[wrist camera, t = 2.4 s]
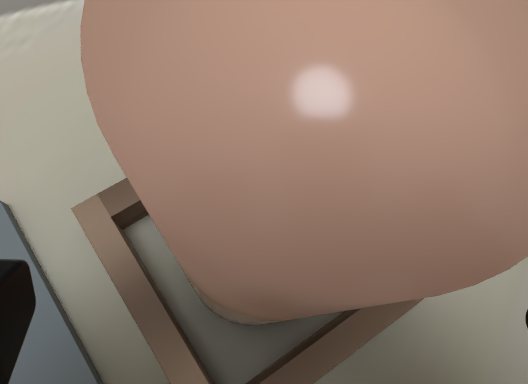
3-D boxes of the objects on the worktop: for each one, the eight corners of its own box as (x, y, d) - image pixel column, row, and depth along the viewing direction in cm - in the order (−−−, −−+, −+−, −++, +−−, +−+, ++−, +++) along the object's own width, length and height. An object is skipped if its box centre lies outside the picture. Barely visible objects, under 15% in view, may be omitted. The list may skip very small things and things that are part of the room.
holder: (414, 292, 18) (438, 287, 16) (214, 443, 15) (213, 459, 14) (283, 111, 20) (289, 87, 18) (87, 222, 17) (70, 208, 15)
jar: (342, 276, 18) (711, 110, 4) (233, 353, 16) (292, 446, 3) (270, 173, 19) (394, -211, 5) (162, 238, 17) (-18, -59, 4)
